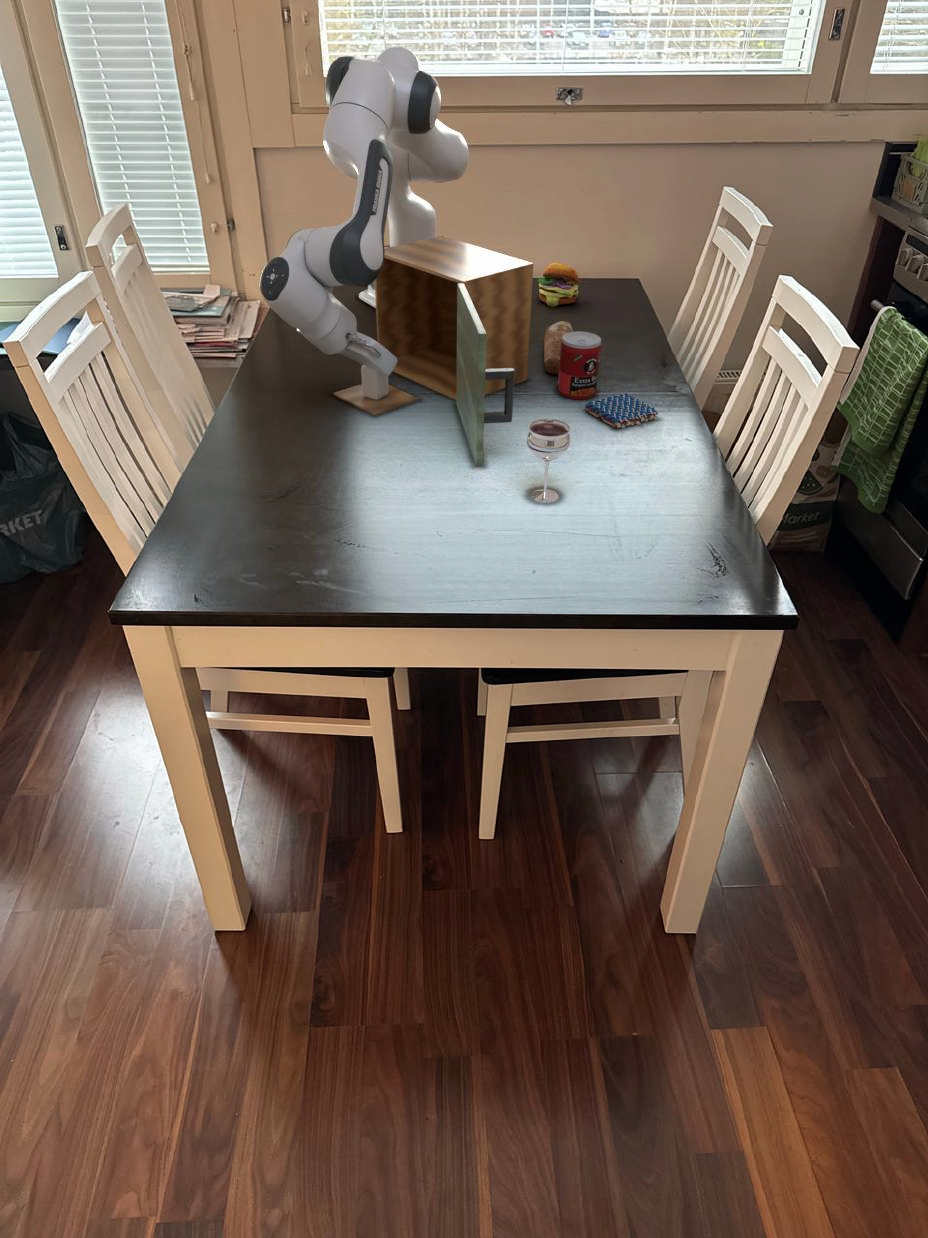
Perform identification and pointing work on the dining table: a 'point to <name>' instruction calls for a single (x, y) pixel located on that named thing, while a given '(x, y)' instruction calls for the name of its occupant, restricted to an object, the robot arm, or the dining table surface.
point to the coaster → (376, 406)
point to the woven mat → (621, 410)
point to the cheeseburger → (558, 285)
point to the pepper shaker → (373, 383)
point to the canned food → (579, 365)
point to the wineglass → (547, 449)
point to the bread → (554, 345)
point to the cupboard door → (476, 376)
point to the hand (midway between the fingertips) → (376, 367)
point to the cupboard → (452, 309)
